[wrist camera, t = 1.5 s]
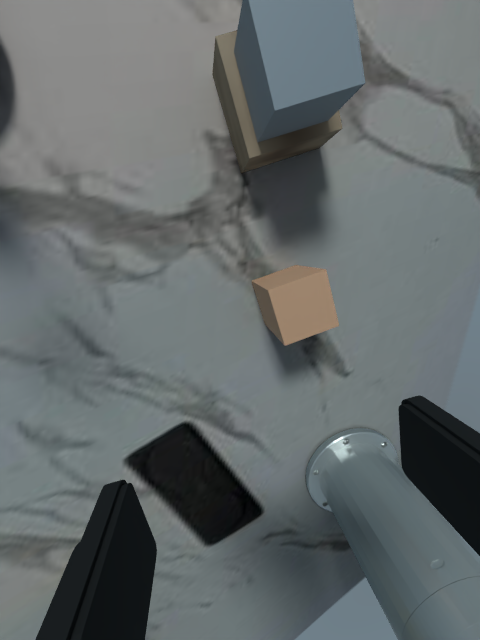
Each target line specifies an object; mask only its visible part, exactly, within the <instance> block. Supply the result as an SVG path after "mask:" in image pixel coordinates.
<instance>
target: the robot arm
mask: <svg viewBox="0 0 480 640" xmlns="http://www.w3.org/2000/svg"><path fill="white" fill-rule="evenodd" d="M399 425H400V444H401V462H402V467H401V466H400V465H399V464H398V456H397V452H396V450H395V448H394V446H393V445H392V443H391V442H390V441H389V440H388V439H387V438H386V437H385V436H384V435H382V434H381V433H379V432H377V431H375V430H371V429H366V428H355V429H349V430H345V431H342V432H340V433H338V434H335V435H334V436H332V437H330V438H329V439H327V440H326V441H325V442H324V443H323V444H322V445H320V446H319V448H318V449H317V450H316V451H315V452H314V454H313V455H312V457H311V459H310V461H309V463H308V466H307V470H306V485H307V488H308V491H309V493H310V495H311V497H312V499H313V500H314V501H315V502H316V504H318V505H319V506H320V507H321V508H323V509H326V510H328V511H331V512H333V514H334V516H335V518H336V520H337V522H338V524H339V526H340V527H341V529H342V531H343V533H344V535H345V537H346V539H347V541H348V543H349V545H350V547H351V549H352V551H353V553H354V555H355V557H356V559H357V561H358V563H359V564H360V566H361V568H362V570H363V572H364V574H365V576H366V578H367V580H368V582H369V584H370V586H371V588H372V590H373V592H374V594H375V595H376V598H377V599H378V601H379V603H380V605H381V607H382V609H383V611H384V613H385V615H386V617H387V619H388V621H389V623H390V625H391V627H392V629H393V631H394V633H395V635H396V636H397V638H398V640H480V557H479V556H480V433H478V432H477V431H475V430H474V429H472V428H471V427H469V426H467V425H466V424H464V423H463V422H461V421H459V420H458V419H457V418H455V417H454V416H452V415H451V414H449V413H447V412H446V411H444V410H443V409H441V408H440V407H438V406H437V405H435V404H434V403H432V402H430V401H429V400H427V399H426V398H424V397H422V396H415V397H412V398H408V399H405V400H403V401H402V404H401V405H400V406H399ZM415 486H416V487H417V488H416V487H415ZM428 500H429V501H428ZM432 505H433V506H434V507H435V508H436V509H437V510H438V511H439V512H440V513H439V512H438V511H437V510H436V509H435V508H434V507H433V506H432ZM443 517H444V518H445V519H446V520H447V521H448V522H449V523H450V524H451V525H452V526H451V525H450V524H449V523H448V522H447V521H446V520H445V519H444V518H443ZM453 527H454V528H453ZM454 529H455V530H456V531H457V532H458V533H459V534H460V535H461V536H462V537H463V538H464V539H463V538H462V537H461V536H460V535H459V534H458V533H457V532H456V531H455V530H454ZM464 540H465V541H466V542H467V543H468V544H469V545H470V546H471V547H472V548H473V549H474V550H475V551H476V553H477V554H478V555H479V556H478V555H477V554H476V553H475V551H474V550H473V549H472V548H471V547H470V546H469V545H468V544H467V543H466V542H465V541H464ZM156 555H157V549H156V542H155V540H154V537H153V535H152V532H151V530H150V527H149V525H148V522H147V520H146V517H145V515H144V512H143V510H142V507H141V505H140V502H139V500H138V497H137V495H136V492H135V490H134V487H133V485H132V484H131V483H128V484H127V483H126V481H125V480H120V481H117V482H113V483H110V484H106V485H105V486H104V487H103V488H102V490H101V493H100V495H99V498H98V500H97V503H96V505H95V508H94V510H93V512H92V515H91V517H90V520H89V522H88V525H87V527H86V530H85V532H84V534H83V537H82V539H81V542H79V543H78V544H77V546H76V547H75V549H74V550H73V552H72V554H71V557H70V559H69V562H68V564H67V566H66V569H65V571H64V573H63V576H62V578H61V581H60V583H59V585H58V588H57V590H56V592H55V595H54V597H53V599H52V602H51V604H50V607H49V609H48V611H47V614H46V616H45V618H44V621H43V623H42V626H41V628H40V630H39V633H38V635H37V637H36V640H145V634H146V627H147V620H148V613H149V606H150V598H151V591H152V584H153V577H154V570H155V563H156Z"/></svg>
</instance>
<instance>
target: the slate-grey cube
mask: <svg viewBox="0 0 480 640" xmlns="http://www.w3.org/2000/svg"><path fill="white" fill-rule="evenodd" d="M234 54H235V58H236V62H237V66H238V70H239V74H240V77H241V81H242V85H243V89H244V93H245V97H246V100H247V104H248V108H249V112H250V116H251V120H252V123H253V127H254V131H255V135H256V139H257V143H258V142H261V141H264V140H267V139H271V138H274V137H277V136H280V135H283V134H287V133H290V132H293V131H296V130H299V129H303V128H306V127H309V126H312V125H316V124H319V123H322V122H325V121H328V120H329V119H330V118H331V117H332V116H333V115H334V114H335V113H336V112H337V111H338V110H339V109H340V108H341V107H342V106H343V105H344V104H345V103H346V102H347V101H348V100H349V99H350V98H351V97H352V96H353V95H354V94H355V93H356V92H357V91H358V90H359V89H360V88H361V87H362V86H363V85H364V84H365V78H364V71H363V64H362V58H361V51H360V44H359V38H358V31H357V25H356V18H355V11H354V5H353V0H243V2H242V8H241V13H240V19H239V25H238V30H237V36H236V41H235V47H234Z"/></svg>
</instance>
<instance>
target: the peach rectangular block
mask: <svg viewBox="0 0 480 640" xmlns="http://www.w3.org/2000/svg"><path fill="white" fill-rule="evenodd" d="M252 284H253V287H254V291H255V294H256V297H257V300H258V303H259V306H260V309H261V313H262V316H263V319H264V322H265V325H266V326H267V327H268V328H269V329H270V330H271V331H272V332H273V333H274V335H275V336H276V337H277V338H278V339H279V340H280V341H281V342H282V343H283V344H284V346H286V345H289V344H291V343H294V342H297V341H299V340H302V339H305V338H307V337H310V336H313V335H315V334H318V333H321V332H323V331H326V330H329V329H331V328H334V327H337V326H339V323H338V319H337V314H336V310H335V306H334V301H333V297H332V293H331V289H330V284H329V280H328V276H327V271H326V269H319V268H312V267H305V266H298V265H295V266H292V267H289V268H287V269H284V270H281V271H278V272H275V273H272V274H270V275H267V276H264V277H261V278H258V279H256V280H253V281H252Z"/></svg>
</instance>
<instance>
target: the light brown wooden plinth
mask: <svg viewBox="0 0 480 640" xmlns="http://www.w3.org/2000/svg"><path fill="white" fill-rule="evenodd" d="M236 36H237V30H236V31H233V32H229V33H226V34H223V35H219V36H216V38H215V50H214V63H213V78H214V81H215V85H216V88H217V91H218V95H219V98H220V102H221V105H222V109H223V112H224V116H225V119H226V122H227V126H228V129H229V133H230V136H231V140H232V143H233V147H234V150H235V153H236V157H237V160H238V164H239V167H240V171H241V173H244V172H247V171H250V170H253V169H256V168H259V167H262V166H265V165H268V164H271V163H274V162H277V161H280V160H283V159H287V158H290V157H293V156H296V155H299V154H302V153H305V152H308V151H311V150H314V149H317V148H320V147H321V146H322V145H323V144H325V143H326V142H327V141H328V140H329V139H330V138H332V137H333V136H334V135H335V134H336V133H338V132H339V131H340V130H341V129H342V124H341V119H340V113H339V110H338V111H337V112H336V113H335V114H334V115H333V116H332V117H331V118H330V119H329V120H328V121H325V122H322V123H319V124H316V125H312V126H309V127H306V128H303V129H299V130H296V131H293V132H290V133H287V134H283V135H280V136H277V137H274V138H271V139H267V140H264V141H261V142H258V143H257V139H256V135H255V131H254V127H253V123H252V120H251V116H250V112H249V108H248V104H247V100H246V97H245V93H244V89H243V85H242V81H241V77H240V74H239V70H238V66H237V62H236V58H235V54H234V47H235V41H236Z"/></svg>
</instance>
